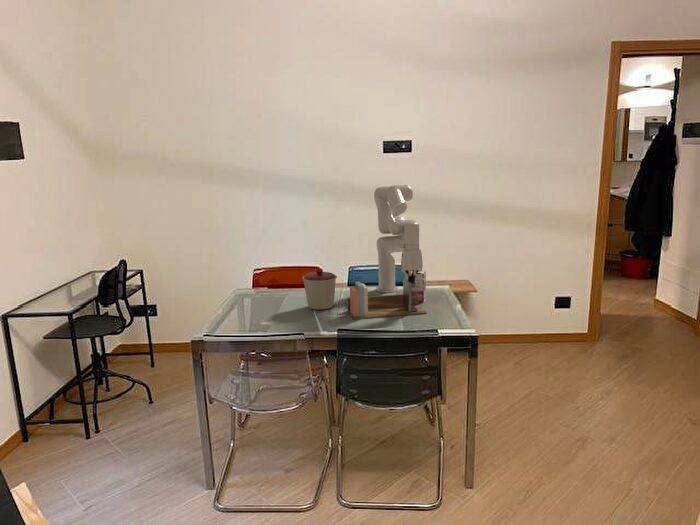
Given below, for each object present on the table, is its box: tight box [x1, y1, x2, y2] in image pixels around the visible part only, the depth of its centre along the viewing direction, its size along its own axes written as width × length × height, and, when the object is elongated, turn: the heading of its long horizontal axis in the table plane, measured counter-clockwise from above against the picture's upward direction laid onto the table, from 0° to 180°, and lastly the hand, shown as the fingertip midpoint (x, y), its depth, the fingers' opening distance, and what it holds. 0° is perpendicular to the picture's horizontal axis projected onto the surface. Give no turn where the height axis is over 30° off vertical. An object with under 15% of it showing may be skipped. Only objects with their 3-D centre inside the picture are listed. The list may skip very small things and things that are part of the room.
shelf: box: [346, 293, 427, 321], centre depth 267 cm, size 15×37×7 cm, turn 101°
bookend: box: [402, 277, 418, 312], centre depth 267 cm, size 10×5×15 cm, turn 11°
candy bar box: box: [403, 270, 427, 304], centre depth 285 cm, size 11×5×16 cm, turn 66°
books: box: [349, 281, 369, 317], centre depth 263 cm, size 10×7×15 cm
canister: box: [302, 267, 338, 311], centre depth 277 cm, size 18×18×21 cm
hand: (411, 283), depth 266 cm, fingers closed
